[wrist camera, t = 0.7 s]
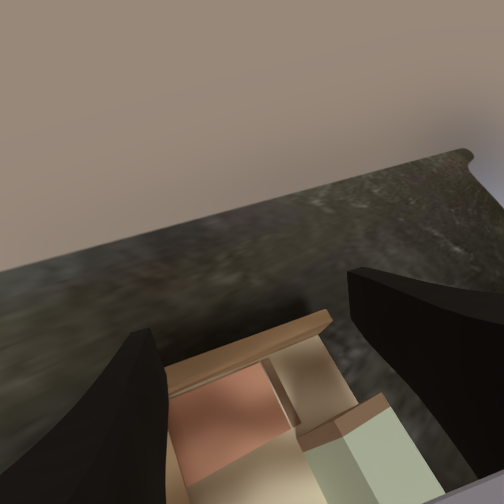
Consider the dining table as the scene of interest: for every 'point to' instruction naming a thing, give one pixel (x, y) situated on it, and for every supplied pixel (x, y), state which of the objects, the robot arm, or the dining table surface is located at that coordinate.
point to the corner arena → (251, 417)
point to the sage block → (368, 458)
